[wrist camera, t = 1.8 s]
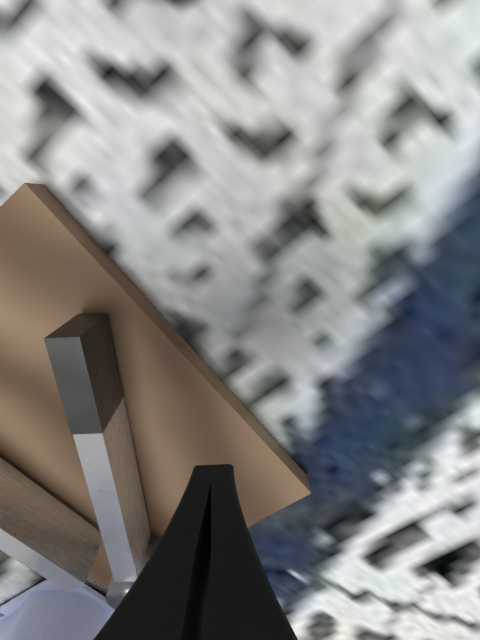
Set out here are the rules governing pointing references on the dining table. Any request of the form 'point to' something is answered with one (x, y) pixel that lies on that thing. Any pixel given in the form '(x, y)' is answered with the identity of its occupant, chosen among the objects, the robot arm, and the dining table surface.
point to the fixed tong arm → (44, 531)
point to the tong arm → (103, 443)
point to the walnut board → (136, 375)
